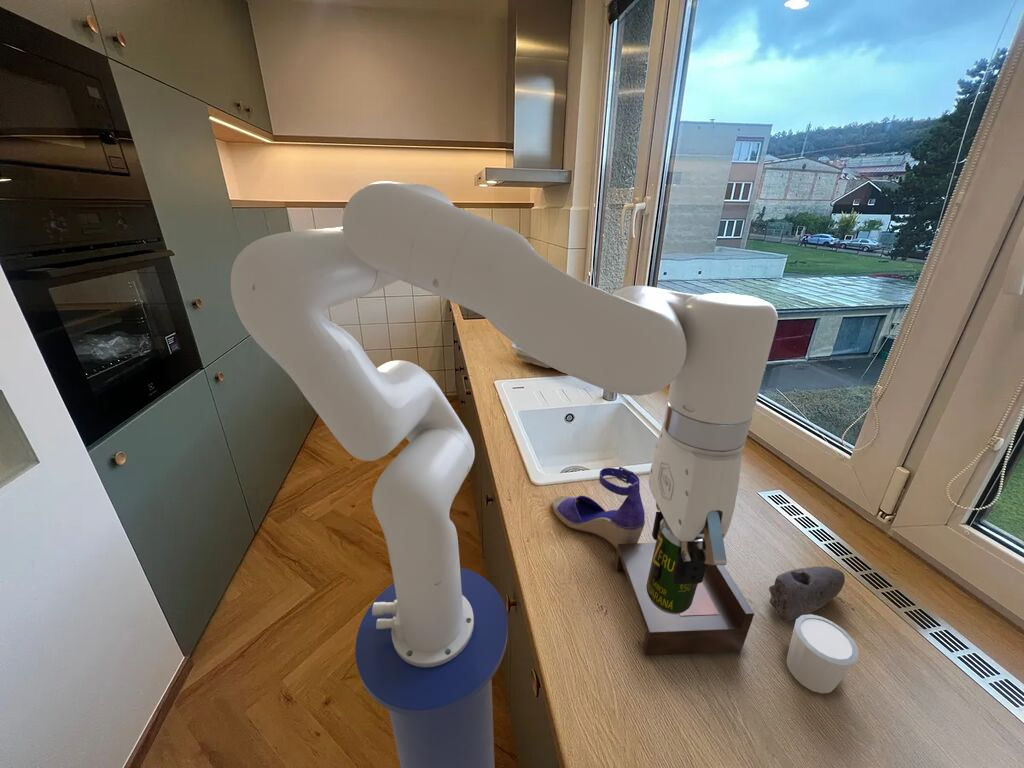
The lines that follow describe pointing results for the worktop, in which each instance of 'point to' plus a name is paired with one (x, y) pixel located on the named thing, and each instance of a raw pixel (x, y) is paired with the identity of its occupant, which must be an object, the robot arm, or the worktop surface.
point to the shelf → (701, 628)
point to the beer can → (669, 574)
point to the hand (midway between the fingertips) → (675, 557)
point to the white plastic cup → (820, 653)
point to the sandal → (606, 524)
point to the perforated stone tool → (804, 590)
